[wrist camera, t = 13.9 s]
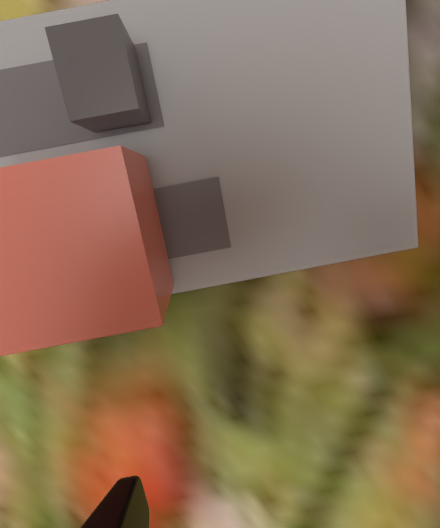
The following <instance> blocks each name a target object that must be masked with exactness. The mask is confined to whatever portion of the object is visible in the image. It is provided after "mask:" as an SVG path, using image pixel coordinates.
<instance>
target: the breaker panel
mask: <svg viewBox="0 0 440 528" xmlns="http://www.w3.org/2000/svg"><path fill="white" fill-rule="evenodd" d="M112 14H119V16H120V18H121V20H122V22H123V24H124V26H125V28H126V30H127V32H128V34H129V36H130V38H131V40H132V42H133V44H134V46H135V50H136V54H137V59H138V64H139V68H140V73H141V78H142V82H143V87H144V92H145V96H146V101H147V106H148V110H149V115H150V119H151V122H148V123H143V124H138V125H133V126H127V127H122V128H117V129H111V130H106V131H101V132H95V133H94V132H92V131H90V130H88V129H85V128H83V127H81V126H79V125H77V124H74V123H72V122H70V121H69V118H68V114H67V110H66V106H65V103H64V99H63V95H62V91H61V88H60V84H59V80H58V76H57V72H56V69H55V65H54V61H53V57H52V54H51V50H50V46H49V42H48V39H47V35H46V31H45V27H48V26H54V25H59V24H64V23H70V22H75V21H80V20H86V19H91V18H96V17H102V16H107V15H112ZM120 145H121V146H123V147H125V148H128V149H130V150H132V151H135V152H137V153H139V154H142V155H144V156H146V159H147V164H148V168H149V173H150V177H151V182H152V186H153V191H154V196H155V200H156V205H157V209H158V214H159V218H160V223H161V227H162V232H163V237H164V241H165V246H166V250H167V255H168V259H169V264H170V269H171V273H172V278H173V282H174V287H173V291H172V294H175V293H180V292H186V291H191V290H196V289H201V288H207V287H212V286H217V285H223V284H228V283H233V282H238V281H244V280H249V279H254V278H259V277H265V276H270V275H275V274H281V273H286V272H291V271H296V270H302V269H307V268H312V267H317V266H323V265H328V264H333V263H339V262H344V261H349V260H354V259H360V258H365V257H370V256H376V255H381V254H386V253H391V252H397V251H402V250H407V249H412V248H418V229H417V210H416V191H415V172H414V153H413V134H412V115H411V96H410V77H409V58H408V39H407V20H406V1H405V0H111V1H105V2H100V3H95V4H89V5H84V6H79V7H73V8H68V9H63V10H57V11H52V12H47V13H41V14H36V15H31V16H25V17H20V18H15V19H9V20H4V21H0V167H5V166H11V165H16V164H22V163H27V162H33V161H38V160H44V159H49V158H54V157H60V156H65V155H71V154H76V153H82V152H87V151H92V150H98V149H103V148H109V147H114V146H120Z"/></svg>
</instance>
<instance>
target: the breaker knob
mask: <svg viewBox="0 0 440 528" xmlns="http://www.w3.org/2000/svg"><path fill="white" fill-rule="evenodd" d="M45 31H46V35H47V39H48V42H49V46H50V50H51V54H52V57H53V61H54V65H55V69H56V72H57V76H58V80H59V84H60V88H61V91H62V95H63V99H64V103H65V106H66V110H67V114H68V118H69V121H70V122H72V123H74V124H77V125H79V126H81V127H83V128H85V129H88V130H90V131H92V132H94V133H95V132H101V131H106V130H111V129H117V128H122V127H127V126H133V125H138V124H143V123H148V122H151V119H150V115H149V110H148V106H147V101H146V96H145V92H144V87H143V82H142V78H141V73H140V68H139V64H138V59H137V54H136V50H135V46H134V44H133V42H132V40H131V38H130V36H129V34H128V32H127V30H126V28H125V26H124V24H123V22H122V20H121V18H120V16H119V14H112V15H107V16H102V17H96V18H91V19H86V20H80V21H75V22H70V23H64V24H59V25H54V26H48V27H45Z"/></svg>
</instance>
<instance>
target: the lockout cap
mask: <svg viewBox="0 0 440 528" xmlns="http://www.w3.org/2000/svg"><path fill="white" fill-rule="evenodd" d="M173 287H174V282H173V278H172V273H171V269H170V264H169V259H168V255H167V250H166V246H165V241H164V237H163V232H162V227H161V223H160V218H159V214H158V209H157V205H156V200H155V196H154V191H153V186H152V182H151V177H150V173H149V168H148V164H147V159H146V156H144V155H142V154H139V153H137V152H135V151H132V150H130V149H128V148H125V147H123V146H121V145H120V146H114V147H109V148H103V149H98V150H92V151H87V152H82V153H76V154H71V155H65V156H60V157H54V158H49V159H44V160H38V161H33V162H27V163H22V164H16V165H11V166H5V167H0V356H3V355H9V354H14V353H19V352H25V351H30V350H35V349H41V348H46V347H52V346H57V345H62V344H68V343H73V342H78V341H84V340H89V339H95V338H100V337H105V336H111V335H116V334H121V333H127V332H132V331H138V330H143V329H148V328H154V327H159V326H163V323H164V319H165V316H166V312H167V308H168V305H169V301H170V298H171V294H172V291H173Z"/></svg>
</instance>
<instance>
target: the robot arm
mask: <svg viewBox="0 0 440 528" xmlns="http://www.w3.org/2000/svg"><path fill="white" fill-rule="evenodd" d="M81 528H149V507H148V503H147V499H146V496H145V492H144V489H143V485H142V482H141V479H140V478H139V477H138V476H131V477H125V478H121V479H119V480H118V481H117V482H116V484H115V485H114V486H113V487H112V489H111V490H110V491H109V492H108V494H107V495H106V496H105V497H104V499H103V500H102V501H101V503H100V504H99V505H98V506H97V508H96V509H95V510H94V511H93V513H92V514H91V515H90V516H89V518H88V519H87V520H86V521H85V523H84V524H83V525H82V526H81Z"/></svg>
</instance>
